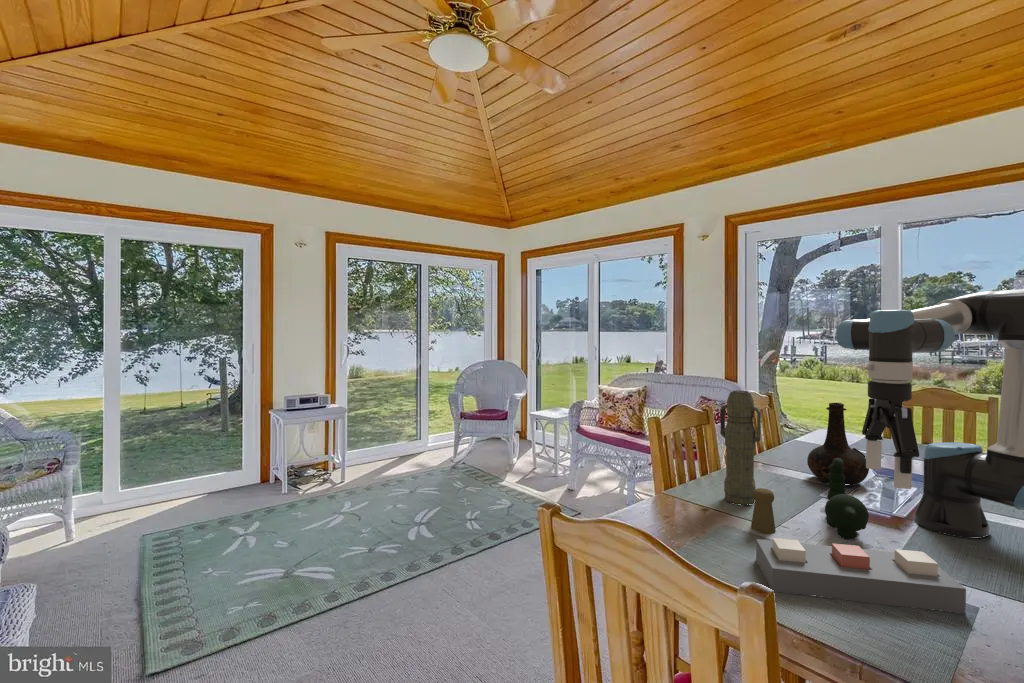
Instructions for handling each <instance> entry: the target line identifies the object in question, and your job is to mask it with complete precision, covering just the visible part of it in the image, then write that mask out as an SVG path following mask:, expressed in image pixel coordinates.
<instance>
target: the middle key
mask: <svg viewBox="0 0 1024 683" xmlns="http://www.w3.org/2000/svg"><path fill="white" fill-rule="evenodd" d="M831 546H832V558H833V559H834V560H835V561H836V562H837V564H838V565H839V566H840V567H849V568H859V569H869V570H870V557H869V556H868V555H867V554H866V553H865V552H864V551H863V550H862V549H863V548H861V547H860V546H859V545H855V544H854V545H852V544H844V543H843V544H841V543H831Z"/></svg>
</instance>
